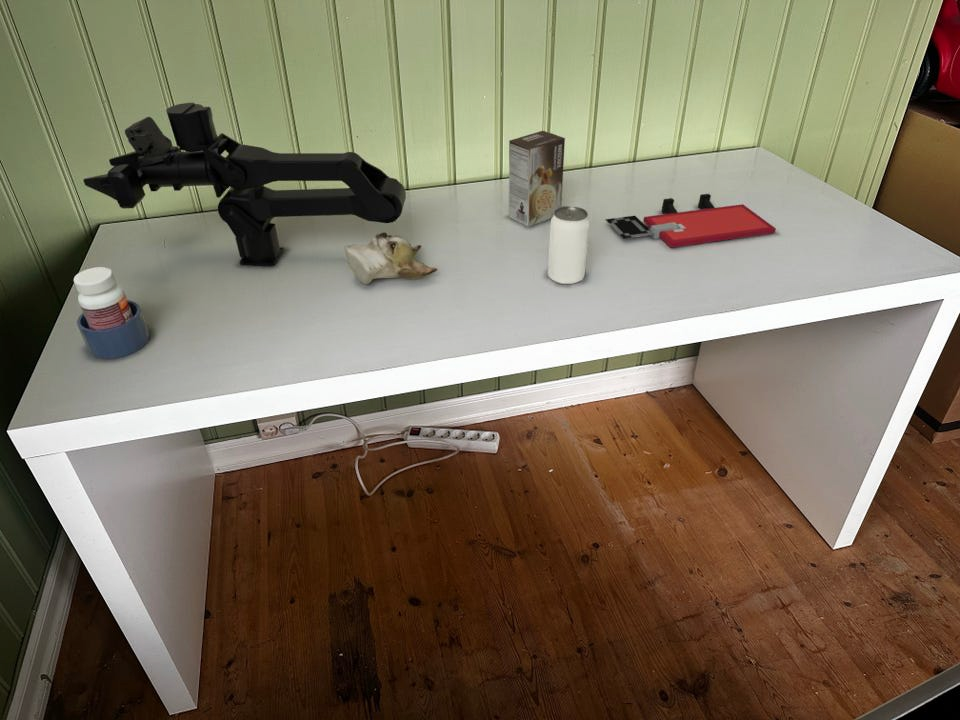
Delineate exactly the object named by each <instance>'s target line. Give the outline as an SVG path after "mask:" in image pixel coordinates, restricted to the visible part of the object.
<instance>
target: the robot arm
mask: <svg viewBox="0 0 960 720" xmlns="http://www.w3.org/2000/svg"><path fill="white" fill-rule="evenodd" d="M165 112H166V115H167V118H168V121H169V124H170V127H171V130H172V134H173V137H174V140H175V144H176V145H174V146H173V142H172V140H171V138H169V137H167V135H165V134H164V133H163V132H162V130H161V129H160V127H159V126H158V125H157V123H156V122H155V120H154V118H152V117H151V116H146V117H144V118H142V119H139V120H138V121H136V122H133V123H132V124H131V125H130V126H129V127H126V128H125V130H124V134H125V136H126V138H127V141H128V143H129V144H130V146H131V147H132V149H133V150H134V151H131V152H127V153H125V154H121V155H118V156H115V157H112V158H109V160H108V162H109V164H110V166H112V167H111V168H110V169H109V170H108V171H107V173H105V174H99V175H95V176H89V177H85V178H83V180H82V181H83V184H84V186H86V187H87V188H90V189H92V190H94V191H97V192H98V193H100V194H102V195H105V196H107V197H109V198H111V199H113V200H115V201H117V204H118V206H119V208H121V209H122V210H123V209H125V210H126V209H134V208H135V207H136V206H137V205H139V204H140V203H141V202H142V201H143V199H144V197H146V193H145V190H144V187H145V186H146V185H148V187H149V190H150V192H158V191H159V190H160V189H161V188H173V191H177V192H178V191H179V192H180V191H181V190H182V189H183V188H184V187H205V186H206V187H207V186H209V187H210V186H212V187H213V190H214V193H215V197H216V198H218V199H219V198H220V200H219V202H218V204H217V214H218V215H219V217H220V219H221V220H222V221H223V222H224V223H226V224H227V226H228V228H229V229H230V230H231V232H232V234H233V235H234V237H235V243H236V247H237V250H238V254H239V255H238V256H239V257H240V260H239V261H238V262H239V265H240V266H259V267H260V266H262V267H273V266H275V265H276V264H277V262H278V261H279V259H280V257H281V256H282V255H283V253H284V251H285V247H283V246H280V240H279V237H278V231H277V227H276V223H274V222H273V223H272V220H273V219H274V218H290V217H293V218H294V217H326V216H355V217H357V218H360V219H362V220H364V221H367V222H371V223H378V224H392V223H394V222H396V221H397V220H398V219H399V218H400V217H401V215H402V213H403V209H404V205H405V201H406V198H407V197H406V196H407V192H406V188H405V186H404V185H403V184H402V183H401V182H400V181H398V179H396V178H394V177H390V176H389V175H387V174H386V173H385V172H384V171H383V170H382V169H380V168H379V167H377V166H374V164H371V163H370V162H368V161H367V160H365V159H364V158H363V157H362V156H360V155H359V154H358V153H357V152H354V151H346V152H343V153H341V152H339V153H338V152H335V153H333V152H328V153H327V152H324V153H323V152H321V153H320V152H319V153H318V152H315V153H313V152H310V153H309V152H308V153H307V152H305V153H304V152H303V153H302V152H299V153H297V152H293V153H292V152H288V153H287V152H286V153H285V152H283V153H280V152H274V151H272V150H269V149H267V148H264V147H260V146H254V145H248V144H241V143H240V142H239V141H237V140H235V139H234V138H231V137H230V136H228V135H226V134H224V133H223V132H222V133H219V134H218V133H217V130H216V126H215V122H214V119H213V117H214V116H213V111H212V108H211V106H204V105H202V104H199V103H195V102H183V103H178V104H174V105H171V106H169V107H168V108H166V109H165ZM224 152H226V153H227V155H226V156H223V155H222V154H223V153H224ZM275 182H343V183H344V184H345V185H346V186H347V187H339V188H338V187H337V188H335V187H333V188H309V189H307V188H306V189H305V188H303V189H272V188H270V187H267V186H265V185H267V184H271V183H275ZM224 193H225V194H224ZM221 197H222V198H221Z"/></svg>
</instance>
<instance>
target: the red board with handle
mask: <svg viewBox="0 0 960 720" xmlns="http://www.w3.org/2000/svg"><path fill="white" fill-rule="evenodd" d="M711 197H712V195H711V194H710V193H703V194H700V195H699V200H698V205H697V208H698V209H695V210H687V211H679V212H678V211H677V209H676V207H675V206H674V203H675V199H674V198H673V197H670V198H663V201H662V206H661V211H660V212H661V214H656V215H647V216H643V220H642V221H641V220H640V219H639V217H637V216H636V215H627V216H621V217H619V216H618V217H613V218H605V219H604V220H605V221H606V222H607V223H608V224H609V226H611V227H612V228H613V229H614V231H616V232H617V234H619V236H621V238H622V239H625V240H626V239H631V238H639V237H647V236H650V237H651V238H652V239H653V240H656V239H661V240H662V241H663V242H664V243H666V244H667V246H669V248H677V247H683V246H691V245H692V246H693V245H698V244H705V243H713V242H720V241H726V240H734V239H741V238H749V237H755V236H762V235H770V234H775V233H776V230H777V228H776V227H775V226H773V225H772V224H770V223H769V222H768V221H767V220H765V219H764V218H762V217H761V216H760V215H758V214H757V213H756V212H754V211H753V210H752V209H750V208H749V207H748V206H746V205H744V204H733V205H726V206H718V207H715V206H714V204H713V203H712V201H711Z"/></svg>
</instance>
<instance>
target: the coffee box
mask: <svg viewBox="0 0 960 720" xmlns="http://www.w3.org/2000/svg"><path fill="white" fill-rule="evenodd" d="M508 143H509V144H508V145H509V148H508V149H509V151H508V152H509V153H508V154H509V155H508V218H510V219H511V220H513V221H516V222H517V223H520V224H522V225H523V226H525V227H528V228H530V227H534V226H535V225H538V224H540V223H543V222H545V221H548V220H551V219H552V217H553V216H554V211H555V210H556V209H557V208H560V207H562V202H563V201H562V200H563V182H564V166H565V165H564V164H565V147H566V145H565V143H566V137H563V136H560V135H557V134H554V133H552V132H549V131H545V130H540V131H537V132H533V133H530V134H527V135H523V136H519V137H517V138H513V139H509V140H508Z"/></svg>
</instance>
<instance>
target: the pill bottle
mask: <svg viewBox="0 0 960 720" xmlns="http://www.w3.org/2000/svg"><path fill="white" fill-rule="evenodd" d="M73 283H74V285H75V289H76V290H77V292H78V297H77V300H78V304H79V307H80V309H81V311H82V313H83V314H84V316H85V318H86V320H87V323H88V325H89V327H90V330H104V329H110V328H113V327H117V326H119V325H122V324H124V323H126V322H128V321H129V320H130V319H132V318H133V314H132V312H131V309H130V306H129V304H128V301H127V300H128V299H127V295H126V293H125V290H124V288H123V287H122V286H121V285H119V284H118V283H117V280H116V278H115V275H114V273H113V271H112V269H111V268H108V267H103V266H97V267H96V266H94V267H90V268H87V269H84V270H82V271H80V272H78V273H77V274H76V275H75V276H74V278H73Z"/></svg>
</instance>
